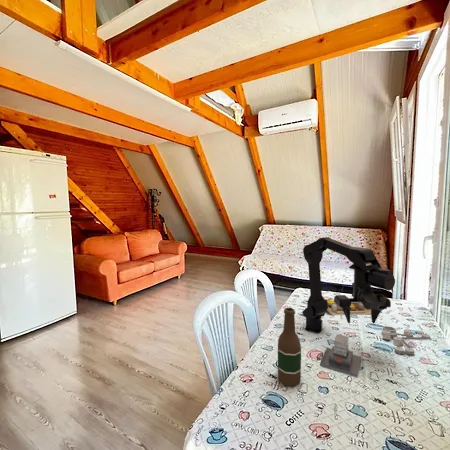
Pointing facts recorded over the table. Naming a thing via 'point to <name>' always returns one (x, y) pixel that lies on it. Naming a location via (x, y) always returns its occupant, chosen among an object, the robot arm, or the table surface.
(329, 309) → the toy food set
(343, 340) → the grey slab
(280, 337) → the beer bottle
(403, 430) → the table surface
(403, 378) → the table surface
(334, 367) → the stand base
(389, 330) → the pulley system
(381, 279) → the robot arm
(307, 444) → the table surface
